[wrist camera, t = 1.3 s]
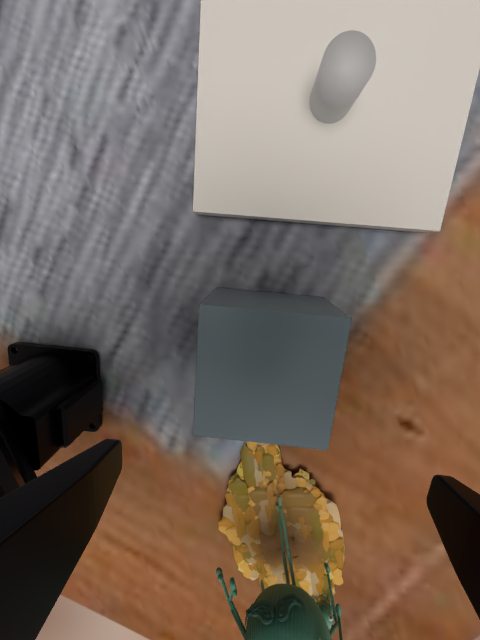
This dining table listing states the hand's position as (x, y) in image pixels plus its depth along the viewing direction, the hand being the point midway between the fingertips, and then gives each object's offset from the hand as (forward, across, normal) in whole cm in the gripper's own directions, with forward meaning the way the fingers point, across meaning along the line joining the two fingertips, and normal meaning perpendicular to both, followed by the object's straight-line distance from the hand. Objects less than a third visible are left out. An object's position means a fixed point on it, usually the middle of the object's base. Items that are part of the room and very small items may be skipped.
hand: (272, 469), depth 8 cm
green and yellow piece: (+12, -3, +16) cm, 20 cm away
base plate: (+12, -2, -14) cm, 18 cm away
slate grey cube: (+12, 0, 0) cm, 12 cm away
